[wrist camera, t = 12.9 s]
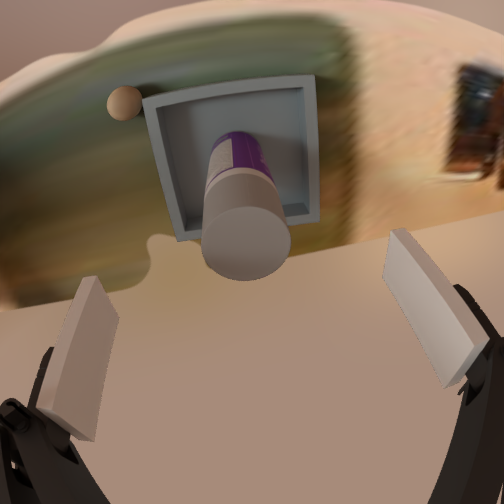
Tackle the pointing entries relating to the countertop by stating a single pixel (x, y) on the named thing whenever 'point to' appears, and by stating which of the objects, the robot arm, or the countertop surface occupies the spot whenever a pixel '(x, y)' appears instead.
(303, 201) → the tray
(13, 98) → the countertop surface
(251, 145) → the container
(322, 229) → the countertop surface
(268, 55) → the countertop surface
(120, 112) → the ball
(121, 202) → the countertop surface
